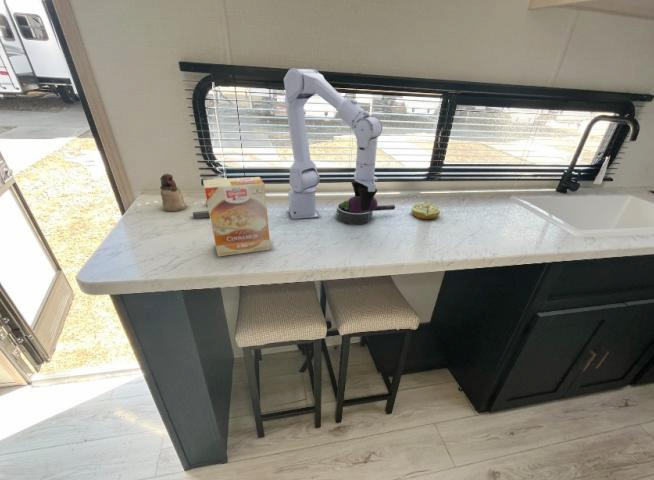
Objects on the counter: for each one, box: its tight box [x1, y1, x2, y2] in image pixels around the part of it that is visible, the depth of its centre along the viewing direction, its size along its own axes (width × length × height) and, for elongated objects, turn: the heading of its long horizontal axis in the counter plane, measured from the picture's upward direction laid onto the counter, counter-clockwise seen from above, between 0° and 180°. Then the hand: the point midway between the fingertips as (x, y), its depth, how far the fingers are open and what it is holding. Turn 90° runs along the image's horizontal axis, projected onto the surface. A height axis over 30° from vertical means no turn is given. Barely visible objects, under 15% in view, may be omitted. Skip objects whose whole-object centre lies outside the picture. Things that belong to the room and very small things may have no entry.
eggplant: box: [340, 195, 378, 213], centre depth 106 cm, size 12×5×5 cm, turn 107°
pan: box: [336, 201, 374, 225], centre depth 121 cm, size 13×13×4 cm
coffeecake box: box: [202, 176, 271, 258], centre depth 93 cm, size 15×7×20 cm, turn 114°
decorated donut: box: [410, 201, 441, 220], centre depth 127 cm, size 10×11×4 cm
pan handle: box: [373, 204, 396, 212], centre depth 124 cm, size 10×2×2 cm, turn 108°
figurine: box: [159, 172, 186, 212], centre depth 116 cm, size 7×7×12 cm
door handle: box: [192, 200, 210, 219], centre depth 118 cm, size 3×20×16 cm
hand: (362, 207), depth 107 cm, fingers closed on eggplant, 5 cm apart
